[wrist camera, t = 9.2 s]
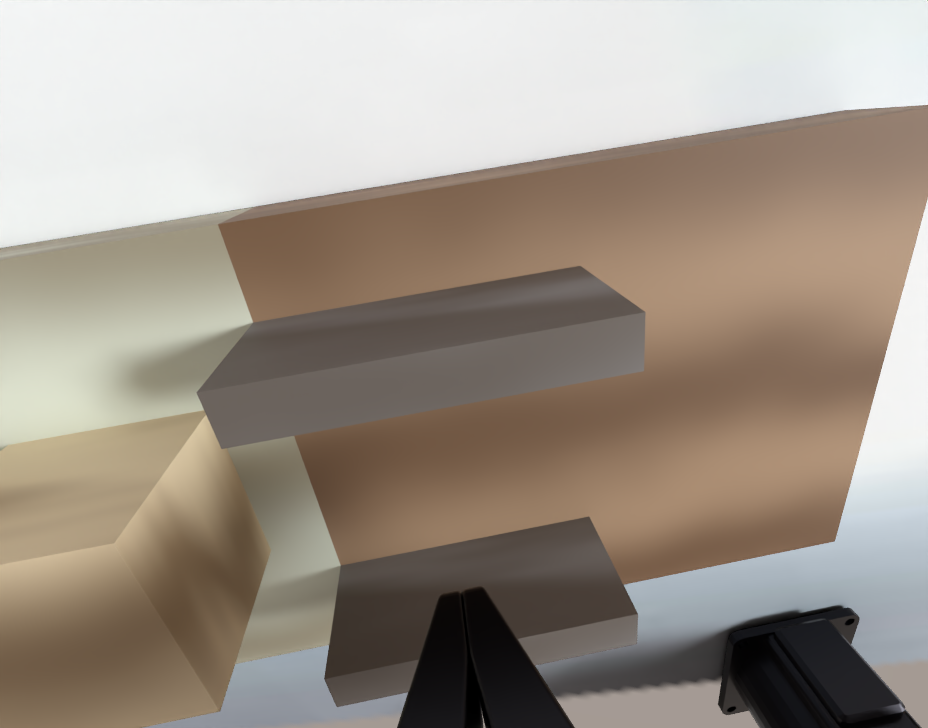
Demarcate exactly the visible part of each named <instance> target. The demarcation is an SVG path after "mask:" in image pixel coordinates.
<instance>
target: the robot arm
mask: <svg viewBox="0 0 928 728" xmlns="http://www.w3.org/2000/svg"><path fill="white" fill-rule="evenodd" d="M858 622H859V616H858V615H857V614H856V613H855V612H854V611H853V610H852V609H851V608H843V609H839V610H834V611H829V612H824V613H820V614H815V615H810V616H805V617H801V618H796V619H791V620H787V621H782V622H777V623H772V624H768V625H763V626H758V627H753V628H749V629H744V630H739V631H736V632H734V633H732V634H731V635H730V636H729V639H728V644H727V650H726V657H725V663H724V670H723V676H722V682H721V689H720V696H719V702H718V705H719V707H720V708H721V710H722V712H723V713H724V714H726V715H730V714H735V713H740V712H744V711H750V713H751V714H752V716H753V718H754V719H755V721H756V723H757V724H758V726H759V727H760V728H921V727H920V725H919V724H918V723H917V722H916V721H915V720H914V719H913V718H912V716H911V715H910V714H909V713H908V712H907V711H906V710H905V706H904V704H903V703H902V702H901V700H900V699H899V698H898V697H897V696H896V695H895V694H894V693H893V691H892V690H891V689H890V688H889V687H888V686H887V685H886V684H885V682H884V681H883V680H882V679H881V678H880V677H879V676H878V674H876V672H875V671H874V670H873V669H872V668H871V667H870V665H869V664H868V663H867V662H866V661H865V660H864V659H863V658H862V656H861V655H860V654H859V653H858V652H857V651H856V650H855V649H854V647H853V646H852V645H851V643H852V640H853V637H854V634H855V631H856V628H857V625H858ZM481 709H482V710H481ZM482 714H483V718H484V723H485V727H486V728H575V727H574V726H573V724H572V723H571V721H570V720H569V718H568V716H567V715H566V713H565V712H564V710H563V709H562V707H561V706H560V704H559V703H558V701H557V699H556V698H555V696H554V695H553V693H552V692H551V690H550V689H549V687H548V685H547V684H546V682H545V681H544V679H543V678H542V676H541V675H540V673H539V671H538V670H537V668H536V667H535V665H534V664H533V662H532V661H531V659H530V657H529V656H528V654H527V653H526V651H525V650H524V648H523V647H522V645H521V644H520V642H519V640H518V639H517V637H516V636H515V634H514V633H513V631H512V630H511V628H510V626H509V625H508V623H507V622H506V620H505V619H504V617H503V616H502V614H501V612H500V611H499V609H498V608H497V606H496V605H495V603H494V602H493V600H492V598H491V597H490V595H489V594H488V592H487V591H486V589H485V588H484V587H483V586H476V587H471V588H466V589H464V590H463V592H462V593H461V591H458V590H457V591H452V592H447V593H442V594H441V595H440V596H439V598H438V600H437V604H436V607H435V610H434V613H433V616H432V619H431V622H430V626H429V629H428V632H427V635H426V638H425V641H424V645H423V648H422V651H421V654H420V657H419V660H418V664H417V667H416V670H415V673H414V676H413V679H412V682H411V686H410V689H409V692H408V695H407V698H406V701H405V705H404V708H403V711H402V714H401V717H400V720H399V724H398V727H397V728H483V718H482Z"/></svg>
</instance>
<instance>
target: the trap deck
mask: <svg viewBox="0 0 928 728" xmlns="http://www.w3.org/2000/svg"><path fill="white" fill-rule="evenodd" d="M927 198H928V105H922V106H906V107H890V108H875V109H859V110H845V111H839V112H833V113H827V114H820V115H814V116H808V117H802V118H796V119H790V120H784V121H778V122H771V123H765V124H759V125H753V126H747V127H741V128H735V129H729V130H722V131H716V132H710V133H704V134H698V135H692V136H686V137H680V138H673V139H667V140H661V141H655V142H649V143H643V144H637V145H631V146H624V147H618V148H612V149H606V150H600V151H594V152H588V153H582V154H575V155H569V156H563V157H557V158H551V159H545V160H539V161H533V162H526V163H520V164H514V165H508V166H502V167H496V168H490V169H484V170H477V171H471V172H465V173H459V174H453V175H447V176H441V177H435V178H428V179H422V180H416V181H410V182H404V183H398V184H392V185H386V186H379V187H373V188H367V189H361V190H355V191H349V192H343V193H337V194H330V195H324V196H318V197H312V198H306V199H300V200H294V201H288V202H281V203H275V204H269V205H263V206H257V207H251V208H245V209H239V210H232V211H226V212H220V213H214V214H208V215H202V216H196V217H190V218H183V219H177V220H171V221H165V222H159V223H153V224H147V225H141V226H134V227H128V228H122V229H116V230H110V231H104V232H98V233H92V234H85V235H79V236H73V237H67V238H61V239H55V240H49V241H43V242H36V243H30V244H24V245H18V246H12V247H6V248H0V451H1V450H2V449H4V448H5V447H6V446H8V445H11V444H17V443H22V442H28V441H33V440H39V439H45V438H50V437H56V436H62V435H67V434H73V433H78V432H84V431H90V430H95V429H101V428H107V427H112V426H118V425H123V424H129V423H135V422H140V421H146V420H152V419H157V418H163V417H168V416H174V415H180V414H185V413H191V412H197V411H202V410H204V411H205V413H206V415H207V418H208V420H209V422H210V424H211V427H212V429H213V431H214V433H215V436H216V438H217V440H218V442H219V445H220V447H221V449H225V448H227V450H228V452H229V455H230V457H231V459H232V462H233V464H234V466H235V468H236V471H237V473H238V475H239V478H240V480H241V482H242V484H243V487H244V489H245V491H246V494H247V496H248V498H249V501H250V503H251V505H252V507H253V510H254V512H255V514H256V517H257V519H258V521H259V523H260V526H261V528H262V530H263V533H264V535H265V537H266V540H267V542H268V544H269V546H270V549H271V553H270V556H269V559H268V562H267V565H266V568H265V571H264V575H263V578H262V581H261V584H260V587H259V590H258V593H257V597H256V600H255V603H254V606H253V609H252V612H251V615H250V619H249V622H248V625H247V628H246V631H245V634H244V637H243V641H242V644H241V647H240V650H239V653H238V656H237V659H236V663H235V664H238V663H243V662H247V661H252V660H257V659H262V658H267V657H272V656H277V655H282V654H287V653H291V652H296V651H301V650H306V649H311V648H316V647H321V646H326V645H329V650H328V657H327V664H326V671H325V678H324V679H325V682H326V684H327V686H328V688H329V691H330V693H331V695H332V697H333V700H334V702H335V704H336V706H337V707H340V706H345V705H349V704H354V703H359V702H364V701H368V700H373V699H378V698H383V697H387V696H392V695H397V694H402V693H406V692H409V689H410V686H411V682H412V679H413V676H414V673H415V670H416V667H417V664H418V660H419V657H420V654H421V651H422V648H423V645H424V641H425V638H426V635H427V632H428V629H429V626H430V622H431V619H432V616H433V613H434V610H435V607H436V604H437V600H438V598H439V596H440V595H441V594H442V593H447V592H452V591H457V590H458V591H461V593H462V592H463V590H464V589H466V588H471V587H476V586H483V587H484V588H485V589H486V591H487V592H488V594H489V595H490V597H491V598H492V600H493V602H494V603H495V605H496V606H497V608H498V609H499V611H500V612H501V614H502V616H503V617H504V619H505V620H506V622H507V623H508V625H509V626H510V628H511V630H512V631H513V633H514V634H515V636H516V637H517V639H518V640H519V642H520V644H521V645H522V647H523V648H524V650H525V651H526V653H527V654H528V656H529V657H530V659H531V661H532V662H533V664H534V665H539V664H544V663H549V662H554V661H558V660H563V659H568V658H573V657H577V656H582V655H587V654H592V653H596V652H601V651H606V650H611V649H615V648H620V647H625V646H630V645H634V644H637V625H638V613H637V611H636V609H635V607H634V605H633V603H632V601H631V599H630V597H629V595H628V593H627V591H626V589H625V587H624V584H629V583H633V582H638V581H643V580H648V579H653V578H658V577H663V576H668V575H672V574H677V573H682V572H687V571H692V570H697V569H702V568H707V567H712V566H716V565H721V564H726V563H731V562H736V561H741V560H746V559H751V558H756V557H760V556H765V555H770V554H775V553H780V552H785V551H790V550H795V549H800V548H804V547H809V546H814V545H819V544H824V543H829V542H834V541H835V539H836V535H837V531H838V527H839V524H840V520H841V516H842V513H843V509H844V505H845V502H846V498H847V494H848V490H849V487H850V483H851V479H852V476H853V472H854V468H855V465H856V461H857V457H858V454H859V450H860V446H861V442H862V439H863V435H864V431H865V428H866V424H867V420H868V417H869V413H870V409H871V405H872V402H873V398H874V394H875V391H876V387H877V383H878V380H879V376H880V372H881V369H882V365H883V361H884V357H885V354H886V350H887V346H888V343H889V339H890V335H891V332H892V328H893V324H894V320H895V317H896V313H897V309H898V306H899V302H900V298H901V295H902V291H903V287H904V284H905V280H906V276H907V272H908V269H909V265H910V261H911V258H912V254H913V250H914V247H915V243H916V239H917V235H918V232H919V228H920V224H921V221H922V217H923V213H924V210H925V206H926V202H927Z"/></svg>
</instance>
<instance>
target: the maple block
mask: <svg viewBox="0 0 928 728" xmlns="http://www.w3.org/2000/svg"><path fill="white" fill-rule="evenodd" d="M270 553H271V549H270V546H269V544H268V542H267V540H266V537H265V535H264V533H263V530H262V528H261V526H260V523H259V521H258V519H257V517H256V514H255V512H254V510H253V507H252V505H251V503H250V501H249V498H248V496H247V494H246V491H245V489H244V487H243V484H242V482H241V480H240V478H239V475H238V473H237V471H236V468H235V466H234V464H233V462H232V459H231V457H230V455H229V452H228V450H227V448H225V449H221V447H220V445H219V442H218V440H217V438H216V436H215V433H214V431H213V429H212V427H211V424H210V422H209V420H208V418H207V415H206V413H205V411H204V410H202V411H197V412H191V413H185V414H180V415H174V416H168V417H163V418H157V419H152V420H146V421H140V422H135V423H129V424H123V425H118V426H112V427H107V428H101V429H95V430H90V431H84V432H78V433H73V434H67V435H62V436H56V437H50V438H45V439H39V440H33V441H28V442H22V443H17V444H11V445H8V446H6V447H5V448H4V449H2V450H1V451H0V728H142V727H147V726H151V725H156V724H161V723H166V722H171V721H176V720H181V719H185V718H190V717H195V716H200V715H205V714H210V713H214V712H219V711H220V710H221V707H222V704H223V700H224V697H225V694H226V691H227V688H228V685H229V682H230V678H231V675H232V672H233V669H234V666H235V663H236V659H237V656H238V653H239V650H240V647H241V644H242V641H243V637H244V634H245V631H246V628H247V625H248V622H249V619H250V615H251V612H252V609H253V606H254V603H255V600H256V597H257V593H258V590H259V587H260V584H261V581H262V578H263V575H264V571H265V568H266V565H267V562H268V559H269V556H270Z"/></svg>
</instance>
